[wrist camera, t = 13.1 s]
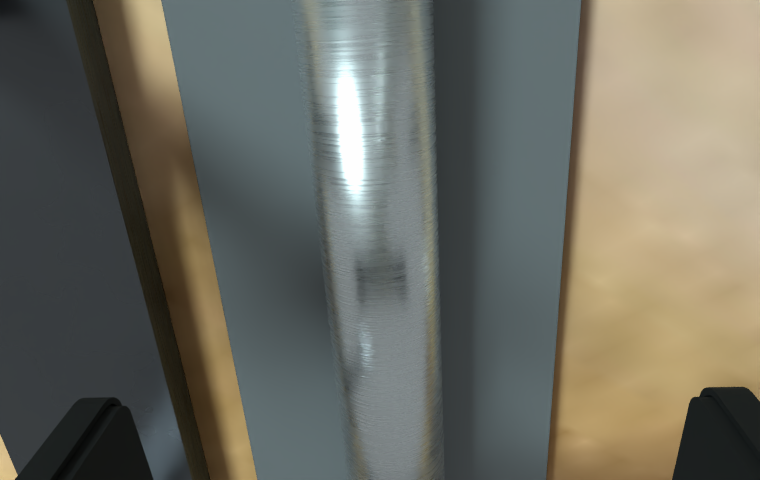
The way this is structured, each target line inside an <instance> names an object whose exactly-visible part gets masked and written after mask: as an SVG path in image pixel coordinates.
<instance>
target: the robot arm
mask: <svg viewBox="0 0 760 480" xmlns="http://www.w3.org/2000/svg"><path fill="white" fill-rule="evenodd" d="M15 480H154V479H153V476H152V473H151V470H150V467H149V464H148V461H147V458H146V455H145V452H144V449H143V446H142V443H141V440H140V437H139V434H138V431H137V428H136V425H135V422H134V420H133V417H132V414H131V411H130V409H129V408H128V407H127V406H122V404H121V402H120V400H119V399H117V398H114V397H99V398H81V399H79V400H77V401H76V402H75V403H74V404H73V406H72V407H71V408H70V409H69V411H68V412H67V413H66V415H65V416H64V417H63V418H62V420H61V421H60V422H59V424H58V425H57V426H56V427H55V429H54V430H53V431H52V433H51V434H50V435H49V436H48V438H47V439H46V440H45V442H44V443H43V444H42V445H41V447H40V448H39V449H38V451H37V452H36V453H35V454H34V456H33V457H32V458H31V460H30V461H29V462H28V463H27V465H26V466H25V467H24V469H23V470H22V471H21V472H20V474H19V475H18V476H17V478H16V479H15ZM672 480H760V402H759V400H758V399H757V398H756V397H755V395H754V394H753V393H752V392H751V391H750V390H749V389H747V388H745V387H708V388H704V389H703V390H702V391H701V394H700V396H699V397H693V398H692V399H691V401H690V403H689V407H688V412H687V416H686V421H685V425H684V430H683V434H682V438H681V443H680V447H679V452H678V456H677V461H676V465H675V469H674V474H673V478H672Z"/></svg>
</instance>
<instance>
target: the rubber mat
mask: <svg viewBox="0 0 760 480" xmlns="http://www.w3.org/2000/svg"><path fill="white" fill-rule="evenodd" d="M161 1H162V6H163V11H164V16H165V21H166V26H167V31H168V36H169V41H170V46H171V51H172V56H173V61H174V66H175V71H176V76H177V81H178V86H179V91H180V96H181V101H182V106H183V111H184V116H185V121H186V126H187V131H188V136H189V141H190V146H191V151H192V156H193V161H194V166H195V170H196V175H197V180H198V185H199V190H200V195H201V200H202V205H203V210H204V215H205V220H206V225H207V230H208V235H209V240H210V245H211V250H212V255H213V260H214V265H215V270H216V275H217V280H218V285H219V290H220V295H221V300H222V305H223V310H224V315H225V320H226V325H227V330H228V335H229V340H230V345H231V350H232V355H233V360H234V365H235V370H236V375H237V380H238V385H239V390H240V395H241V400H242V405H243V410H244V415H245V420H246V425H247V430H248V435H249V440H250V445H251V450H252V455H253V460H254V465H255V470H256V475H257V480H347V474H346V465H345V456H344V448H343V439H342V431H341V422H340V413H339V405H338V396H337V388H336V379H335V370H334V362H333V353H332V345H331V336H330V327H329V319H328V310H327V302H326V293H325V284H324V276H323V267H322V259H321V250H320V241H319V233H318V224H317V216H316V207H315V198H314V190H313V181H312V173H311V164H310V155H309V147H308V138H307V130H306V121H305V112H304V104H303V95H302V87H301V78H300V69H299V61H298V52H297V44H296V35H295V26H294V18H293V9H292V1H291V0H161ZM580 10H581V0H433V25H434V66H435V108H436V150H437V192H438V234H439V275H440V317H441V359H442V401H443V443H444V480H546V473H547V459H548V446H549V432H550V419H551V405H552V391H553V378H554V364H555V351H556V337H557V323H558V310H559V296H560V283H561V269H562V255H563V242H564V228H565V214H566V201H567V187H568V174H569V160H570V146H571V133H572V119H573V106H574V92H575V78H576V65H577V51H578V37H579V24H580Z"/></svg>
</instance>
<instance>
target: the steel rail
mask: <svg viewBox="0 0 760 480" xmlns="http://www.w3.org/2000/svg"><path fill="white" fill-rule="evenodd" d="M291 1H292V9H293V18H294V26H295V35H296V44H297V52H298V61H299V69H300V78H301V87H302V95H303V104H304V112H305V121H306V130H307V138H308V147H309V155H310V164H311V173H312V181H313V190H314V198H315V207H316V216H317V224H318V233H319V241H320V250H321V259H322V267H323V276H324V284H325V293H326V302H327V310H328V319H329V327H330V336H331V345H332V353H333V362H334V370H335V379H336V388H337V396H338V405H339V413H340V422H341V431H342V439H343V448H344V456H345V465H346V474H347V480H444V443H443V401H442V359H441V317H440V275H439V234H438V192H437V150H436V108H435V66H434V25H433V0H291Z"/></svg>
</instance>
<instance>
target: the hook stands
mask: <svg viewBox="0 0 760 480" xmlns="http://www.w3.org/2000/svg"><path fill="white" fill-rule="evenodd" d="M99 397H114V398H117V399H119V400H120V402H121V404H122V406H127V407H128V408H129V409H130V411H131V414H132V417H133V420H134V422H135V425H136V428H137V431H138V434H139V437H140V440H141V443H142V446H143V449H144V452H145V455H146V458H147V461H148V464H149V467H150V470H151V473H152V476H153V479H154V480H210V478H209V474H208V469H207V465H206V461H205V457H204V453H203V449H202V445H201V441H200V437H199V433H198V429H197V425H196V421H195V417H194V412H193V408H192V404H191V400H190V396H189V392H188V388H187V384H186V380H185V376H184V372H183V368H182V364H181V360H180V356H179V351H178V347H177V343H176V339H175V335H174V331H173V327H172V323H171V319H170V315H169V311H168V307H167V303H166V299H165V294H164V290H163V286H162V282H161V278H160V274H159V270H158V266H157V262H156V258H155V254H154V250H153V246H152V242H151V237H150V233H149V229H148V225H147V221H146V217H145V213H144V209H143V205H142V201H141V197H140V193H139V189H138V185H137V181H136V176H135V172H134V168H133V164H132V160H131V156H130V152H129V148H128V144H127V140H126V136H125V132H124V128H123V124H122V119H121V115H120V111H119V107H118V103H117V99H116V95H115V91H114V87H113V83H112V79H111V75H110V71H109V67H108V62H107V58H106V54H105V50H104V46H103V42H102V38H101V34H100V30H99V26H98V22H97V18H96V14H95V10H94V6H93V1H92V0H0V435H1V437H2V439H3V442H4V444H5V446H6V449H7V451H8V453H9V456H10V458H11V460H12V463H13V465H14V467H15V470H16V472H17V474H18V475H19V474H20V472H21V471H22V470H23V469H24V467H25V466H26V465H27V463H28V462H29V461H30V460H31V458H32V457H33V456H34V454H35V453H36V452H37V451H38V449H39V448H40V447H41V445H42V444H43V443H44V442H45V440H46V439H47V438H48V436H49V435H50V434H51V433H52V431H53V430H54V429H55V427H56V426H57V425H58V424H59V422H60V421H61V420H62V418H63V417H64V416H65V415H66V413H67V412H68V411H69V409H70V408H71V407H72V406H73V404H74V403H75V402H76V401H77V400H79V399H81V398H99Z"/></svg>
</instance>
